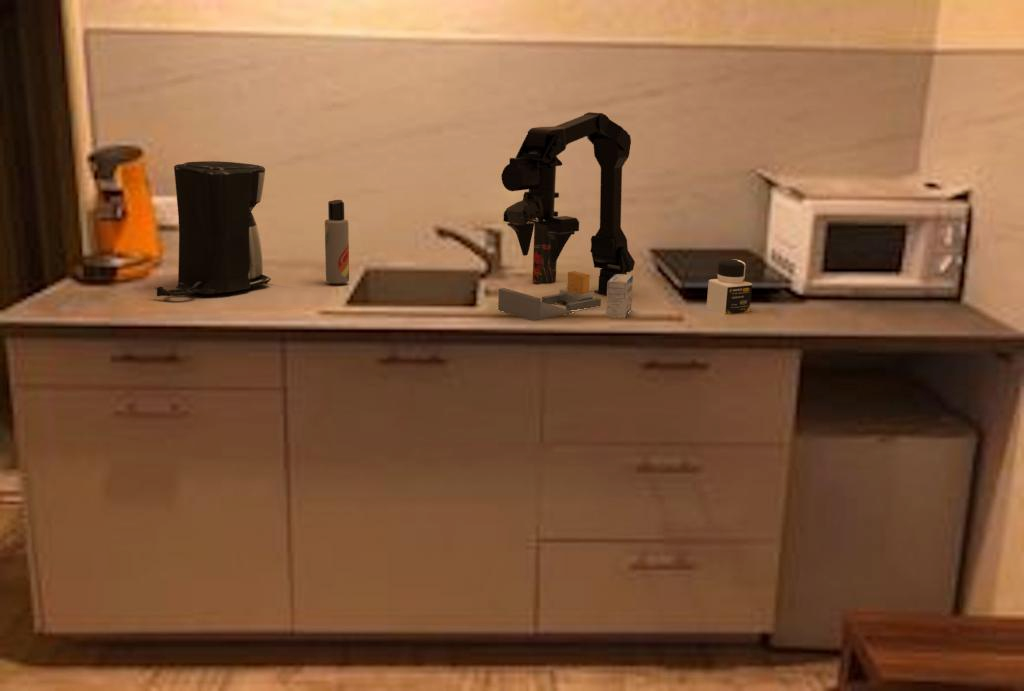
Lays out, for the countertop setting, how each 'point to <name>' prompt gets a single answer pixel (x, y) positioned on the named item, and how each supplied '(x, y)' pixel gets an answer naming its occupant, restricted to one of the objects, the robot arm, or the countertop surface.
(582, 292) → the ram
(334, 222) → the lotion bottle
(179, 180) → the coffee maker
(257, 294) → the countertop surface
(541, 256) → the deodorant
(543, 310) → the press bed
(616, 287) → the medicine box
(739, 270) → the medicine bottle
